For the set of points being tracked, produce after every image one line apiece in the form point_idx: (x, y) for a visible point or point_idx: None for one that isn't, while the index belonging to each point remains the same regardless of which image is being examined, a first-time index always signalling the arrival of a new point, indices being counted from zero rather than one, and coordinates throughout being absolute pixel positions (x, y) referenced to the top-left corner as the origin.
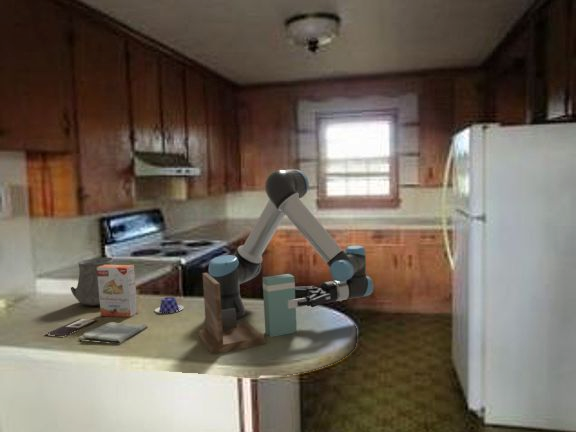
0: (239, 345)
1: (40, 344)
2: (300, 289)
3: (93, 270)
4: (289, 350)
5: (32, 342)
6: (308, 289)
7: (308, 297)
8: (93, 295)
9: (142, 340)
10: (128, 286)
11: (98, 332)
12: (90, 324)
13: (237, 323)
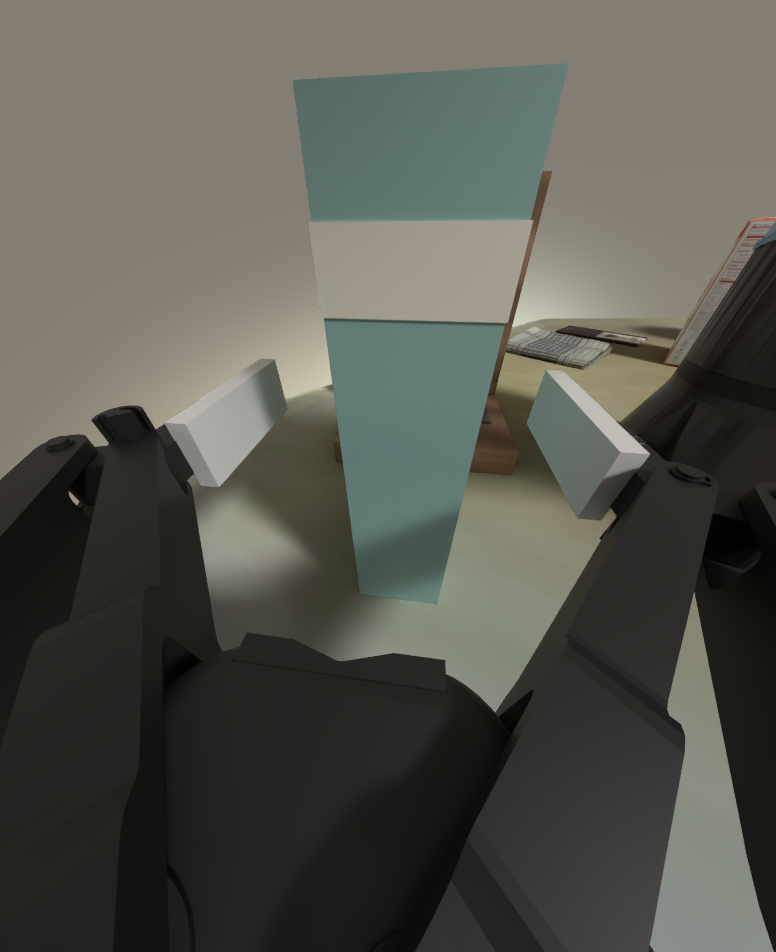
0: None
1: (533, 326)
2: (609, 556)
3: None
4: (230, 486)
5: (544, 324)
6: (540, 692)
7: (109, 416)
8: None
9: (505, 361)
10: (714, 283)
11: (549, 336)
12: (615, 342)
13: (506, 432)
